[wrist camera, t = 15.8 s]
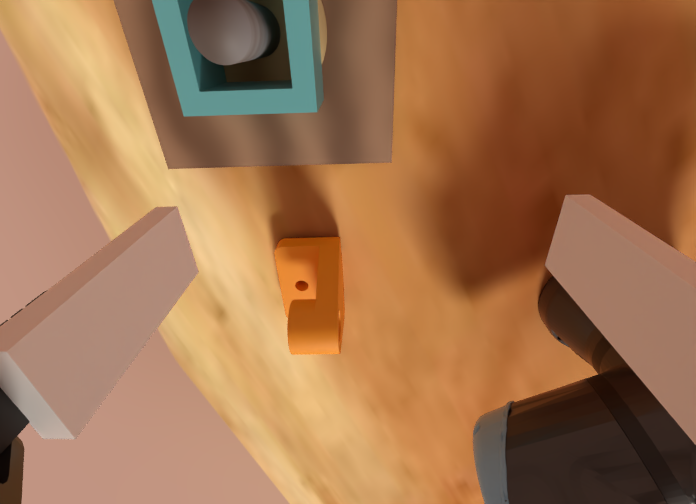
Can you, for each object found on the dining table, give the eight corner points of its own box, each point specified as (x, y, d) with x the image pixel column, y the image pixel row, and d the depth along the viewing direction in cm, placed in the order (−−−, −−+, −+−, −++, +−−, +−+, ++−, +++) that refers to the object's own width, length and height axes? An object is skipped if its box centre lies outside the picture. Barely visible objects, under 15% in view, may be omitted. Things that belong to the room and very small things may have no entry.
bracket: (277, 235, 39) (250, 303, 29) (340, 233, 39) (334, 302, 29) (290, 305, 45) (271, 384, 35) (344, 304, 45) (341, 383, 35)
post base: (400, -175, 22) (431, -322, 13) (390, 157, 34) (402, 202, 25) (76, -154, 23) (-109, -280, 14) (175, 163, 35) (110, 209, 26)
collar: (314, -49, 24) (303, -72, 19) (324, 99, 30) (317, 112, 25) (179, -43, 25) (134, -64, 20) (212, 103, 30) (183, 116, 25)
